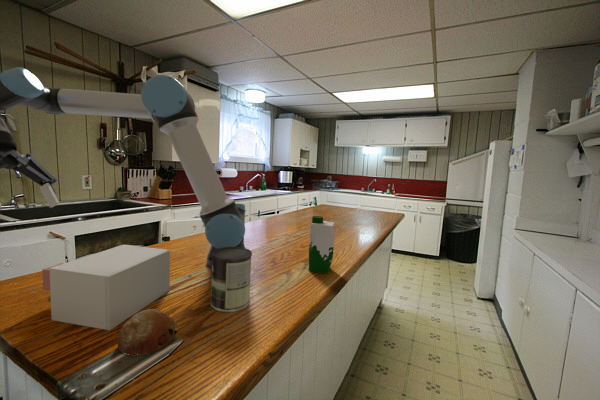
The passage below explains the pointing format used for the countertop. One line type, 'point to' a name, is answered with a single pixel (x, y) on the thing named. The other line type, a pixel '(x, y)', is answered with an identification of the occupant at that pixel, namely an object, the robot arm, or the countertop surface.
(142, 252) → the plain grey box
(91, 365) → the countertop surface
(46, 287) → the brick key
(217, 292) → the coffee can
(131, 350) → the bread roll
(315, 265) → the milk carton
